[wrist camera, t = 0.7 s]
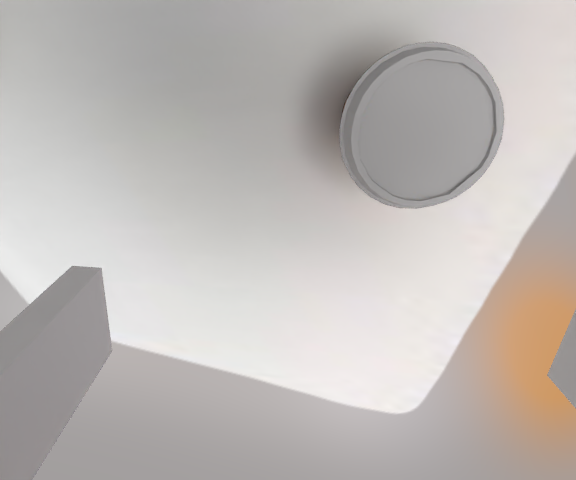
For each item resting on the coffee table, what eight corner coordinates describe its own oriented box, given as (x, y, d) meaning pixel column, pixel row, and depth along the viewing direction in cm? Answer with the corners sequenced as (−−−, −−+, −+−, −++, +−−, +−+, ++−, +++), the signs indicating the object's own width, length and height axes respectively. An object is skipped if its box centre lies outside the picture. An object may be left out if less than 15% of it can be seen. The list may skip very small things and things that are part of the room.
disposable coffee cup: (335, 183, 35) (359, 230, 24) (311, 72, 32) (326, 68, 21) (441, 156, 34) (516, 193, 23) (428, 39, 31) (509, 16, 20)
